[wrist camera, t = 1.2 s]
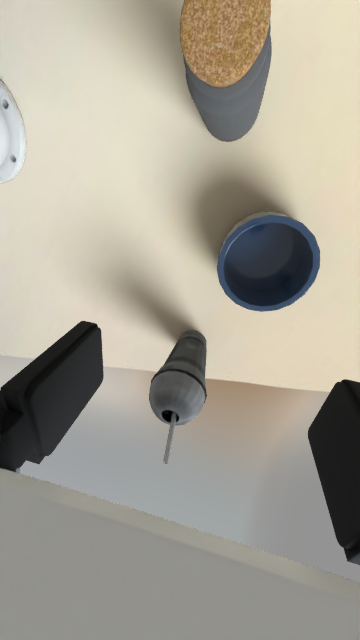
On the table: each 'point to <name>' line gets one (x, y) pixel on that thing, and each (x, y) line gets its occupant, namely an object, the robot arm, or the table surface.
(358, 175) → the table surface
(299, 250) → the desk pot
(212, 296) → the table surface
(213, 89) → the bottle
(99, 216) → the table surface
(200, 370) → the beverage cup
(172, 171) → the table surface
